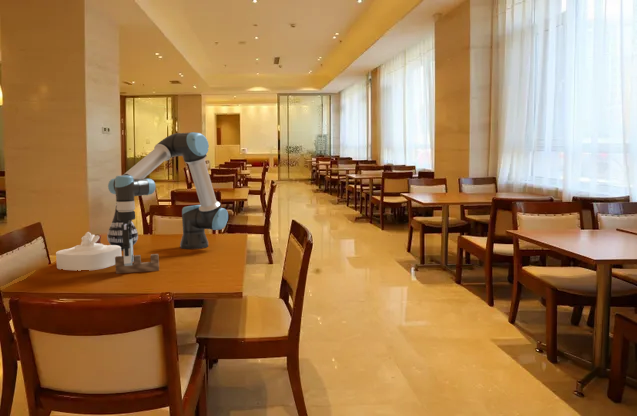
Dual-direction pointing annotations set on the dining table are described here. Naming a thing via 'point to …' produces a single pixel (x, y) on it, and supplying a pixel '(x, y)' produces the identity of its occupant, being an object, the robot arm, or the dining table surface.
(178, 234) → the dining table surface
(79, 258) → the tissue box
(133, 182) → the robot arm
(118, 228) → the vase
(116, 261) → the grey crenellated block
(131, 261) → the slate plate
